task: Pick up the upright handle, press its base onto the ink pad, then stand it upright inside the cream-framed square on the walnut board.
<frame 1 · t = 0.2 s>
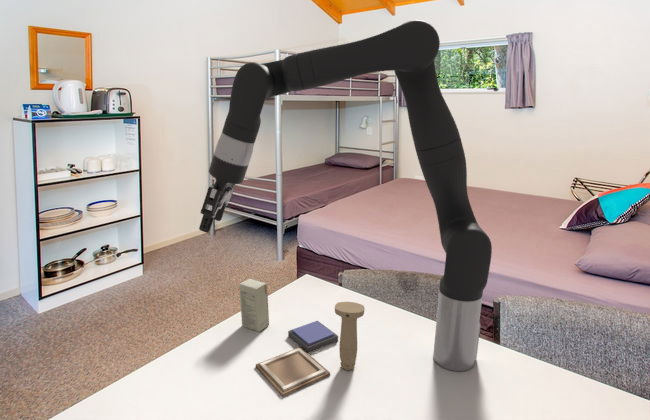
hand: (210, 225, 95), 31 cm above the table, tool tilted 20°, fingers open, 8 cm apart
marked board: (292, 370, 95), on the table
skincare box: (255, 326, 113), on the table
ink pad: (312, 338, 107), on the table
handle: (347, 367, 97), on the table
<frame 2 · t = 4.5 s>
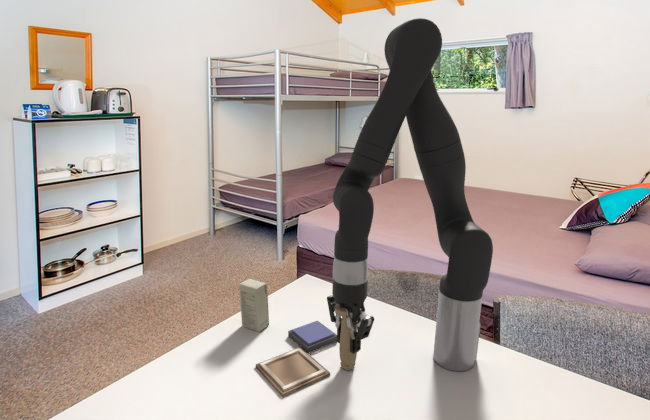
hand: (348, 346, 95), 5 cm above the table, tool pointing down, fingers closed on handle, 4 cm apart
handle: (347, 367, 97), on the table, touching gripper
everything else where it was.
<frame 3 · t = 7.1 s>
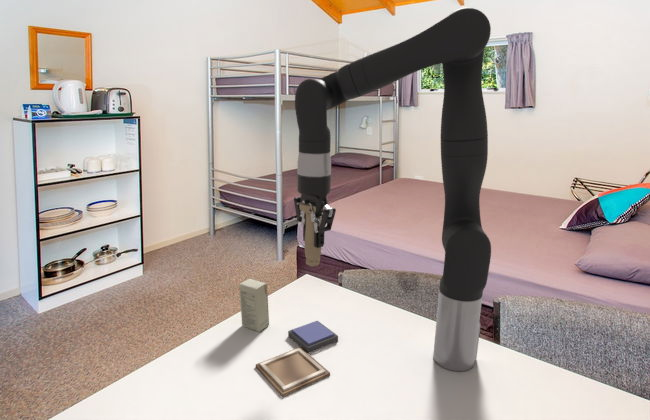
hand: (313, 243, 100), 26 cm above the table, tool pointing down, fingers closed on handle, 4 cm apart
handle: (312, 265, 102), point 20 cm above the table, touching gripper
everything else where it was.
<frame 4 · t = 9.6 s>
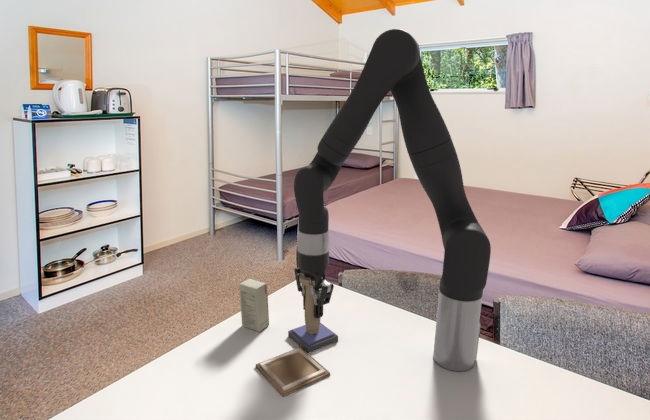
hand: (312, 313, 105), 7 cm above the table, tool pointing down, fingers closed on handle, 4 cm apart
handle: (312, 332, 107), point 2 cm above the table, touching gripper, ink pad
everything else where it was.
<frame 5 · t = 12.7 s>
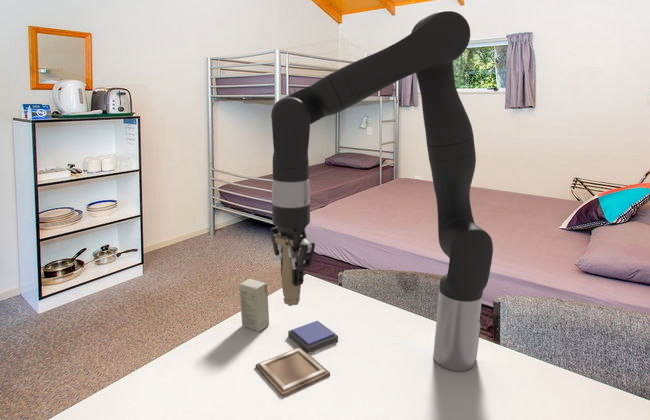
hand: (292, 280, 89), 22 cm above the table, tool pointing down, fingers closed on handle, 4 cm apart
handle: (291, 303, 90), point 17 cm above the table, touching gripper
everything else where it was.
when the fingers open (7 cm above the table, at t = 14.9 s): handle drops 1 cm, resting on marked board.
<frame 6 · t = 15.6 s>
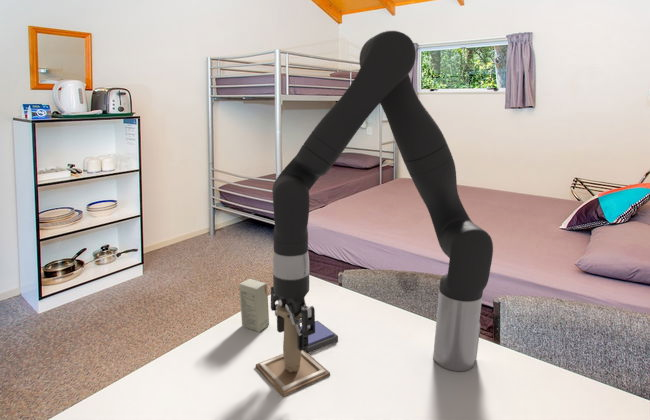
hand: (292, 339, 93), 8 cm above the table, tool pointing down, fingers open, 8 cm apart
handle: (292, 369, 95), resting on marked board
everything else where it was.
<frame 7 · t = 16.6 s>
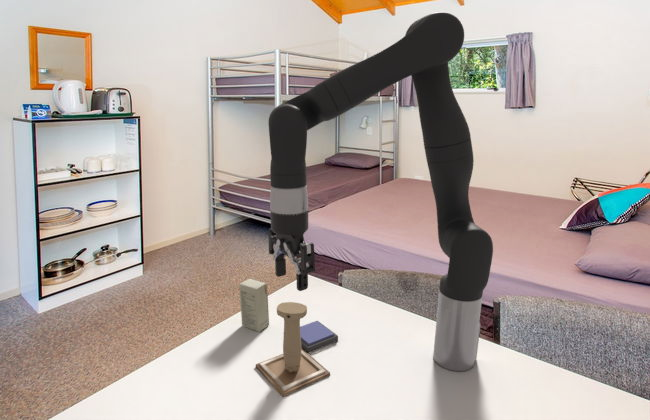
hand: (291, 282, 89), 21 cm above the table, tool pointing down, fingers open, 8 cm apart
nothing on the table moved.
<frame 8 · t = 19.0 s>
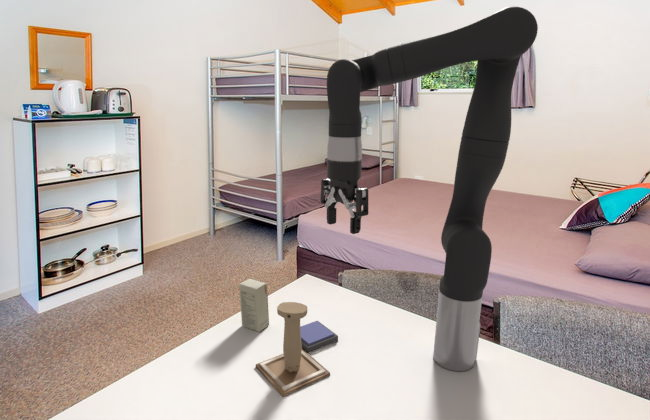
hand: (342, 228, 97), 30 cm above the table, tool pointing down, fingers open, 8 cm apart
nothing on the table moved.
at the end: handle inside the target area (0.1 cm from its centre), resting on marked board; handle tilted 0°; the gripper is holding nothing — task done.
